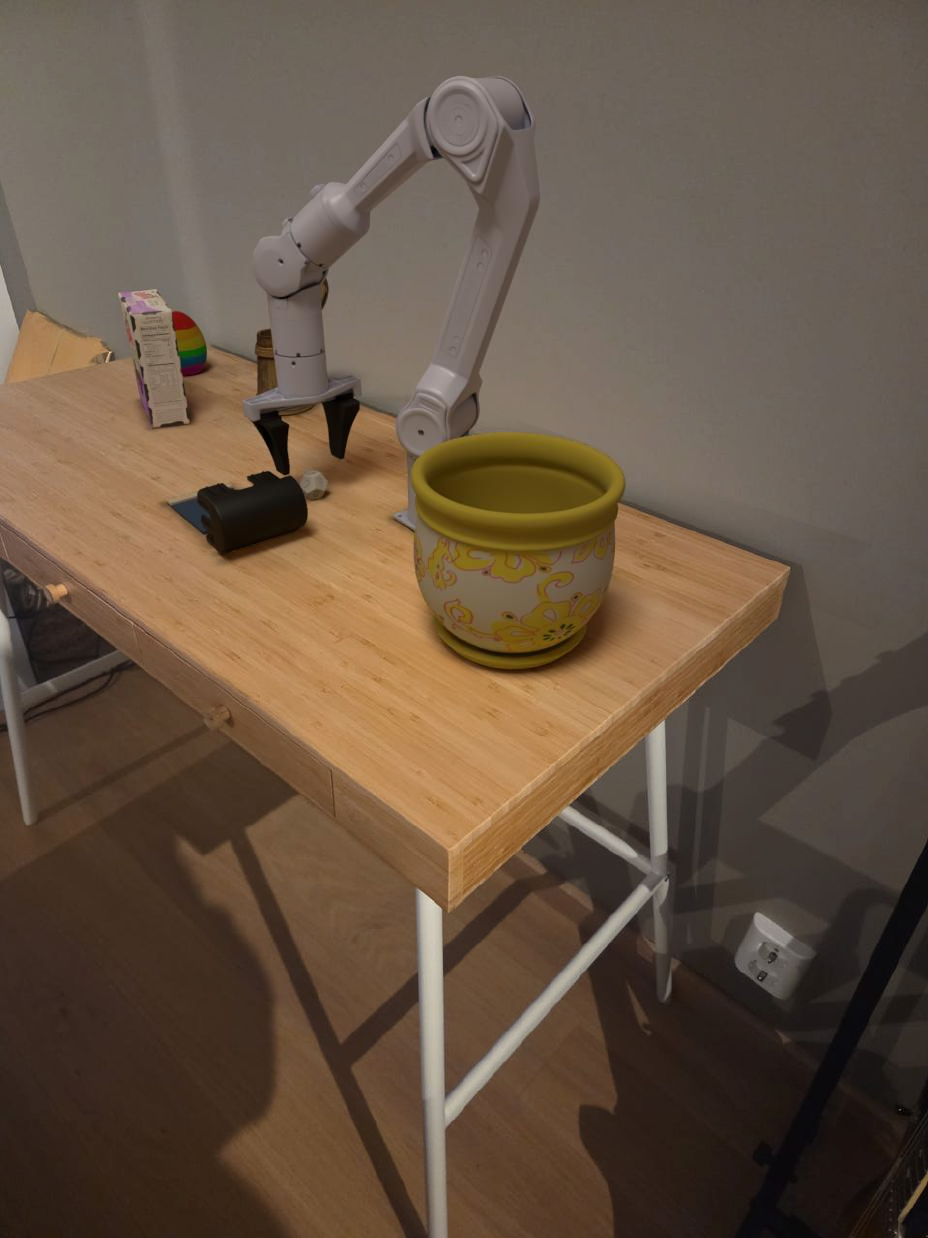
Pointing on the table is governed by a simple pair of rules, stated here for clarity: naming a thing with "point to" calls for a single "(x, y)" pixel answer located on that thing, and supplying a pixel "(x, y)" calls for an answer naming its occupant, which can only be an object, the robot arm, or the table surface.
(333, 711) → the table surface
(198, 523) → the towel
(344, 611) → the table surface
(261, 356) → the wooden mug
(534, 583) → the flowerpot
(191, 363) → the decorative egg
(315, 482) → the game die
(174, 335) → the candy box
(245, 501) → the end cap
